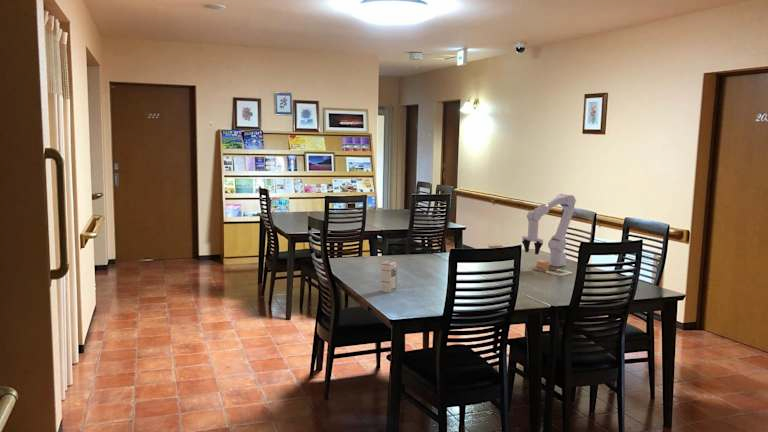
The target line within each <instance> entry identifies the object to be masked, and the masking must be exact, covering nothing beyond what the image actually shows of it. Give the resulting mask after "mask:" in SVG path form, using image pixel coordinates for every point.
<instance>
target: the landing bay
mask: <svg viewBox="0 0 768 432" xmlns="http://www.w3.org/2000/svg"><path fill="white" fill-rule="evenodd" d="M558 272H560V273H558ZM545 274H551V275H553V276H558V277H564V276H569V275H570V274H571V275H574V273H573V272H572V271H568V270H564V269H558V268H557V271H556V272H555V271H551V270H549V271H546V272H545Z"/></svg>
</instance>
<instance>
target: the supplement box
mask: <svg viewBox="0 0 768 432" xmlns="http://www.w3.org/2000/svg"><path fill="white" fill-rule="evenodd" d="M501 247H503V248H504V246H503V244H500V243H498V244H497V243H495V244H494V243H489V244H488V248H501ZM488 248H487V249H488Z"/></svg>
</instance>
